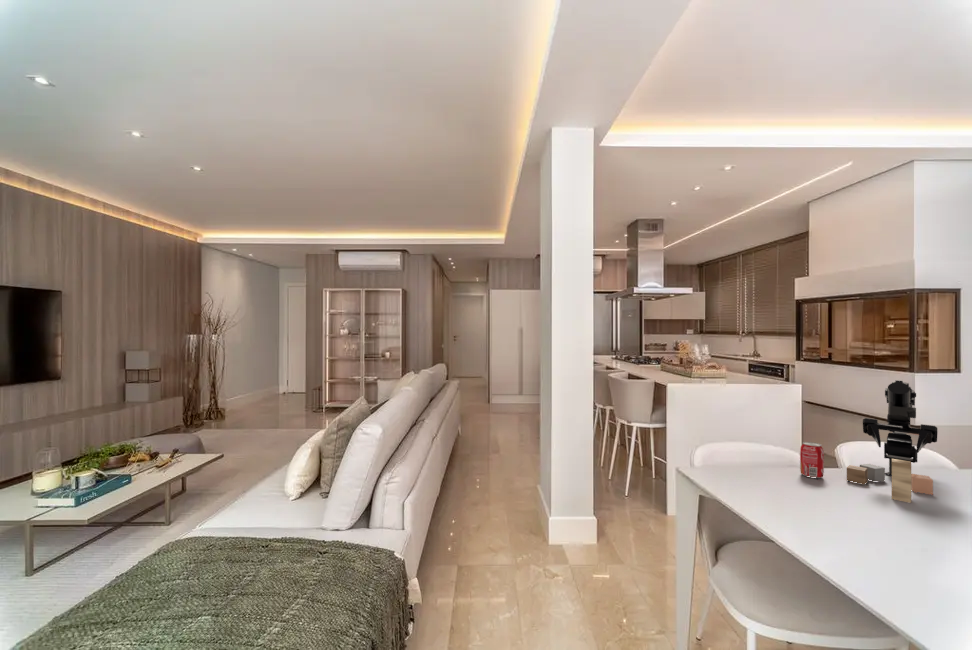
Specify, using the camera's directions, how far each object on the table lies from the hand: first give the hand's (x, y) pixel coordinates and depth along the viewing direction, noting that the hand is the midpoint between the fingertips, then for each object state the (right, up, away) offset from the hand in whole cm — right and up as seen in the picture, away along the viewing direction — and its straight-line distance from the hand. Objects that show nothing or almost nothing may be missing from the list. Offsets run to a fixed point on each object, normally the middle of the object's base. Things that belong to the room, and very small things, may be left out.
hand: (898, 449), depth 149 cm
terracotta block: (+9, -15, +2) cm, 17 cm away
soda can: (-18, -15, +15) cm, 28 cm away
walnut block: (-5, -15, +10) cm, 19 cm away
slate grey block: (+2, -15, +13) cm, 20 cm away
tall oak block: (-5, -14, -6) cm, 16 cm away
